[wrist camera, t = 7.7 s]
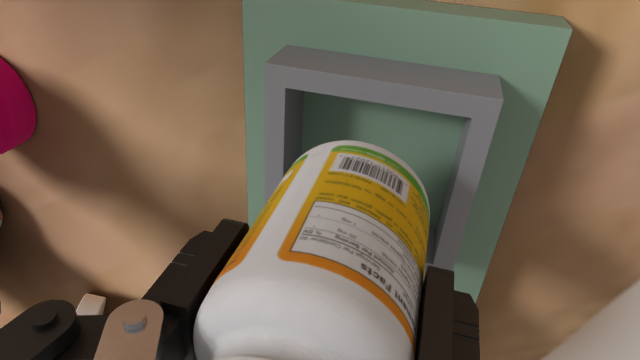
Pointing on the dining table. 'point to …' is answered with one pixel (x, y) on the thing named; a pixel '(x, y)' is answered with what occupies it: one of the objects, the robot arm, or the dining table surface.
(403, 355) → the supplement bottle
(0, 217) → the lucky cat figurine
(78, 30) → the dining table surface
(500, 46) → the desk organizer tray
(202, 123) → the dining table surface
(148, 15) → the dining table surface
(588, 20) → the dining table surface
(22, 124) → the pepper mill
